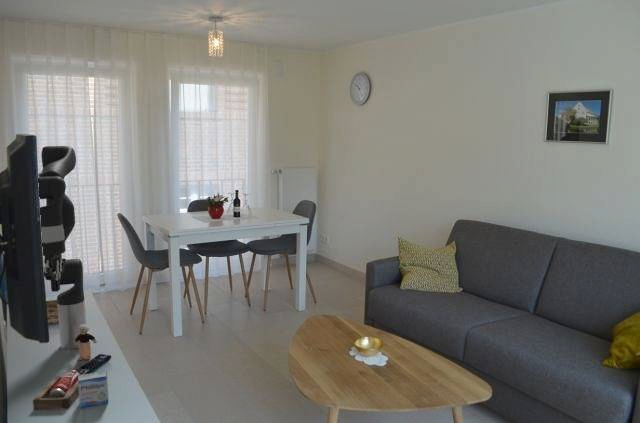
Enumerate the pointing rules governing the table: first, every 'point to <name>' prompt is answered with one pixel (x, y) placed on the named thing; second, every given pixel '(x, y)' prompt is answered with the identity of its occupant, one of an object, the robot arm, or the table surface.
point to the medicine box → (93, 389)
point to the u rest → (55, 403)
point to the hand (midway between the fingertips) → (55, 290)
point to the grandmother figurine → (84, 342)
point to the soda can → (64, 384)
